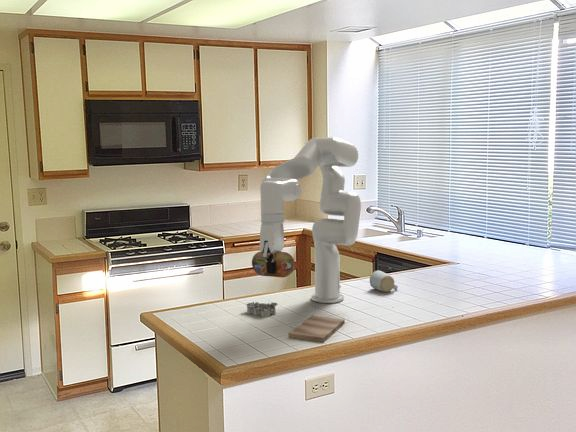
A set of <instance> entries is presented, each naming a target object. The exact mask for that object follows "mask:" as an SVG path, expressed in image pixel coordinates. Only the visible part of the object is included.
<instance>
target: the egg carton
mask: <svg viewBox="0 0 576 432" xmlns="http://www.w3.org/2000/svg"><path fill="white" fill-rule="evenodd" d="M245 305H246V313H247V314H254V316H262V318H264V317H265V316H267V318H268V317H270V315H276V314H277V313H276V312H277V310H276V307H277V305H278V303H277V302H271V303H269V302H267V303H265V302H263V303H262V302H261V303H259V302H258V301H255V302H254V301H252V302H248V303H245Z"/></svg>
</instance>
